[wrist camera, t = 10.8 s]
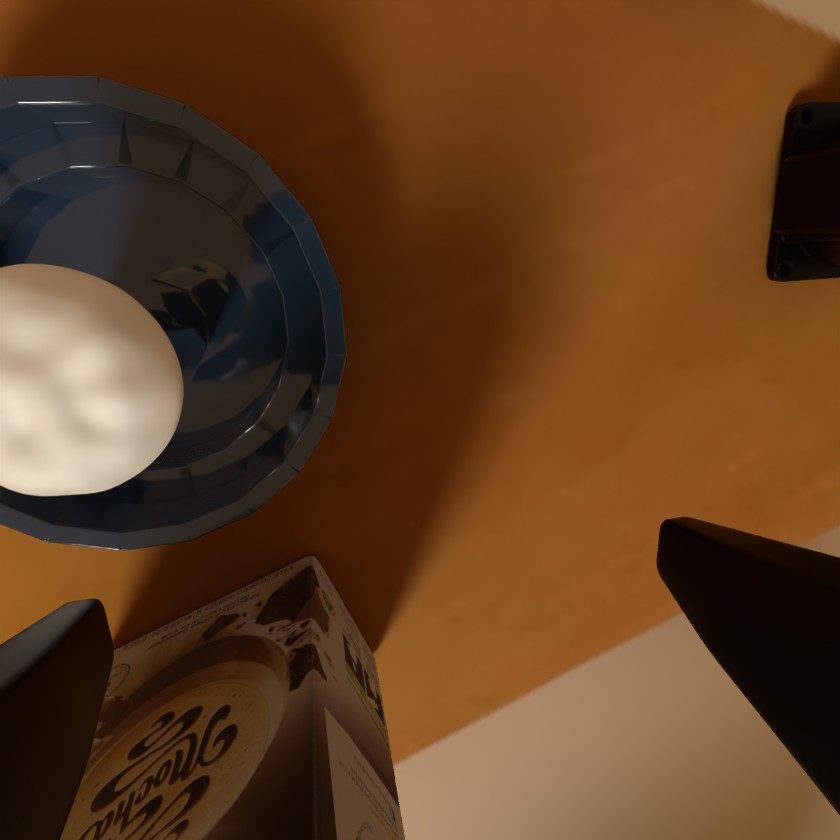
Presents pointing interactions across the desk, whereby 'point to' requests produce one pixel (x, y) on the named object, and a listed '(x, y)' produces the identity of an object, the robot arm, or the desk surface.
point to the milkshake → (90, 376)
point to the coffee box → (244, 725)
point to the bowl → (186, 270)
